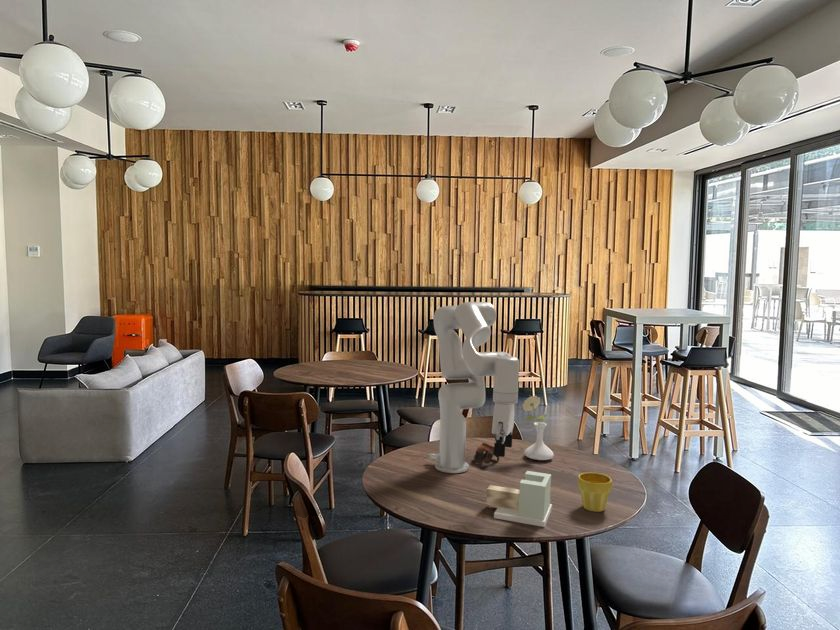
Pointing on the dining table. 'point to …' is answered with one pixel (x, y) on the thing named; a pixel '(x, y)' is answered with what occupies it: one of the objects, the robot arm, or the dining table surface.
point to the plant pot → (594, 490)
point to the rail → (503, 497)
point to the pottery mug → (484, 454)
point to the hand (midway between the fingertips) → (503, 451)
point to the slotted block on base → (530, 501)
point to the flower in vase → (538, 448)
